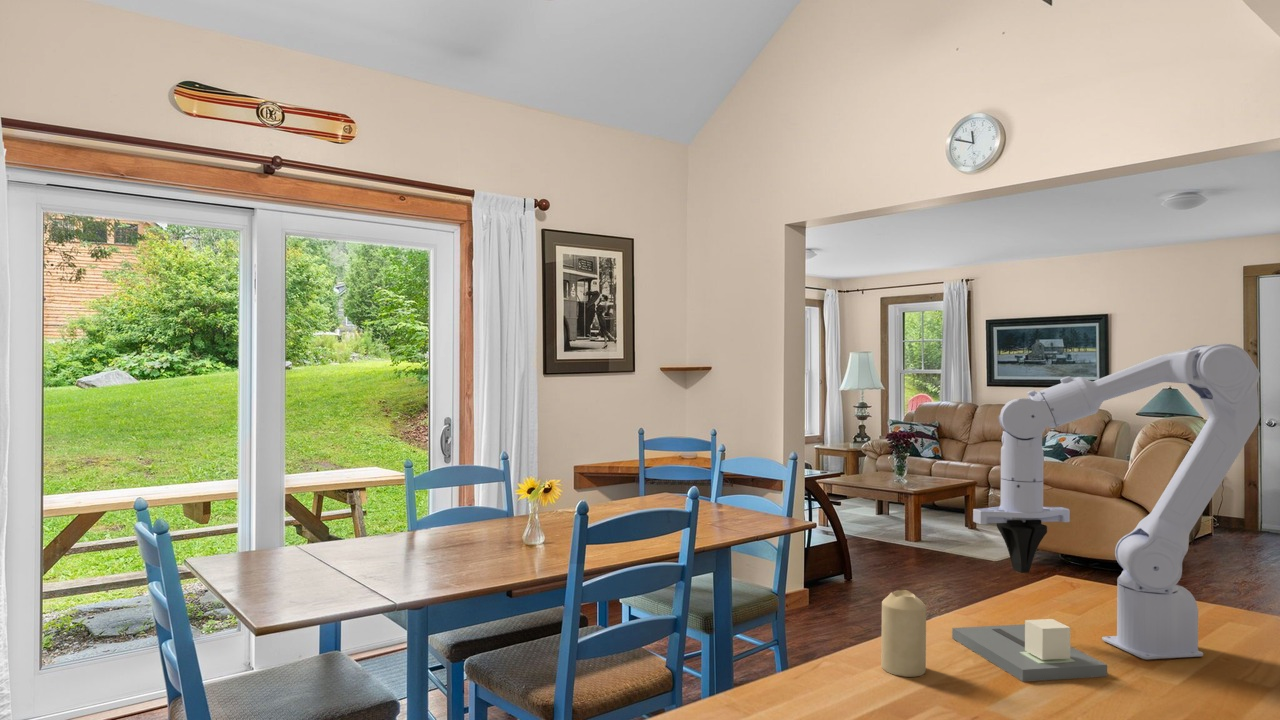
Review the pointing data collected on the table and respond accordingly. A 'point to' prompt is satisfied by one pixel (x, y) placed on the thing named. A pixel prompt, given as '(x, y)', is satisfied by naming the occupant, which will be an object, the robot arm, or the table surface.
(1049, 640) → the knob
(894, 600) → the candle
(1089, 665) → the slider board
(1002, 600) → the table surface
